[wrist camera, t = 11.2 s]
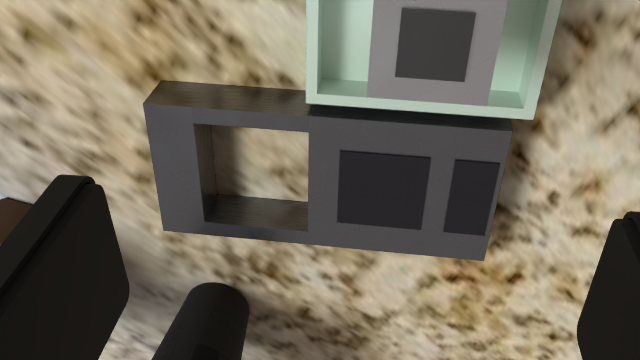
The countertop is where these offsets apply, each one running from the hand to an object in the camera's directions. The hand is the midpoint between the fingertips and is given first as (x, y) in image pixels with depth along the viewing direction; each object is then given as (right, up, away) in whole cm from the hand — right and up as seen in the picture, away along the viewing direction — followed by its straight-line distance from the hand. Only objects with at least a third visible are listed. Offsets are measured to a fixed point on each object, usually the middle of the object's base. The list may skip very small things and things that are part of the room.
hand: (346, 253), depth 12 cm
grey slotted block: (0, +3, +26) cm, 27 cm away
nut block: (+5, +11, +19) cm, 23 cm away
